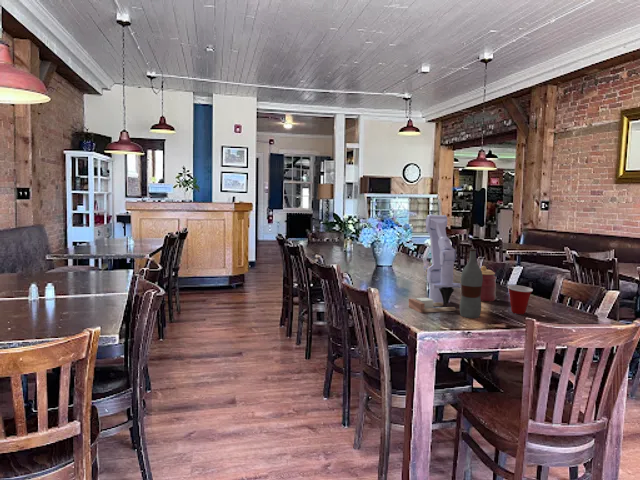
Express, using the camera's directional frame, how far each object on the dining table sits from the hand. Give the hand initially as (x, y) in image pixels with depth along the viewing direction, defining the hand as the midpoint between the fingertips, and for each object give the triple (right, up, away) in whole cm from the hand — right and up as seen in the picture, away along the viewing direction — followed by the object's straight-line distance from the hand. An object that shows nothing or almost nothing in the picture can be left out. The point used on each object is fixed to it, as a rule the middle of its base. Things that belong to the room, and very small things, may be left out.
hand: (445, 303), depth 224 cm
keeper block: (-11, -3, -3) cm, 12 cm away
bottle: (+7, -4, -14) cm, 16 cm away
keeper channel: (-7, -2, -2) cm, 8 cm away
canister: (+25, -1, +22) cm, 34 cm away
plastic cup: (+32, -4, -7) cm, 33 cm away
